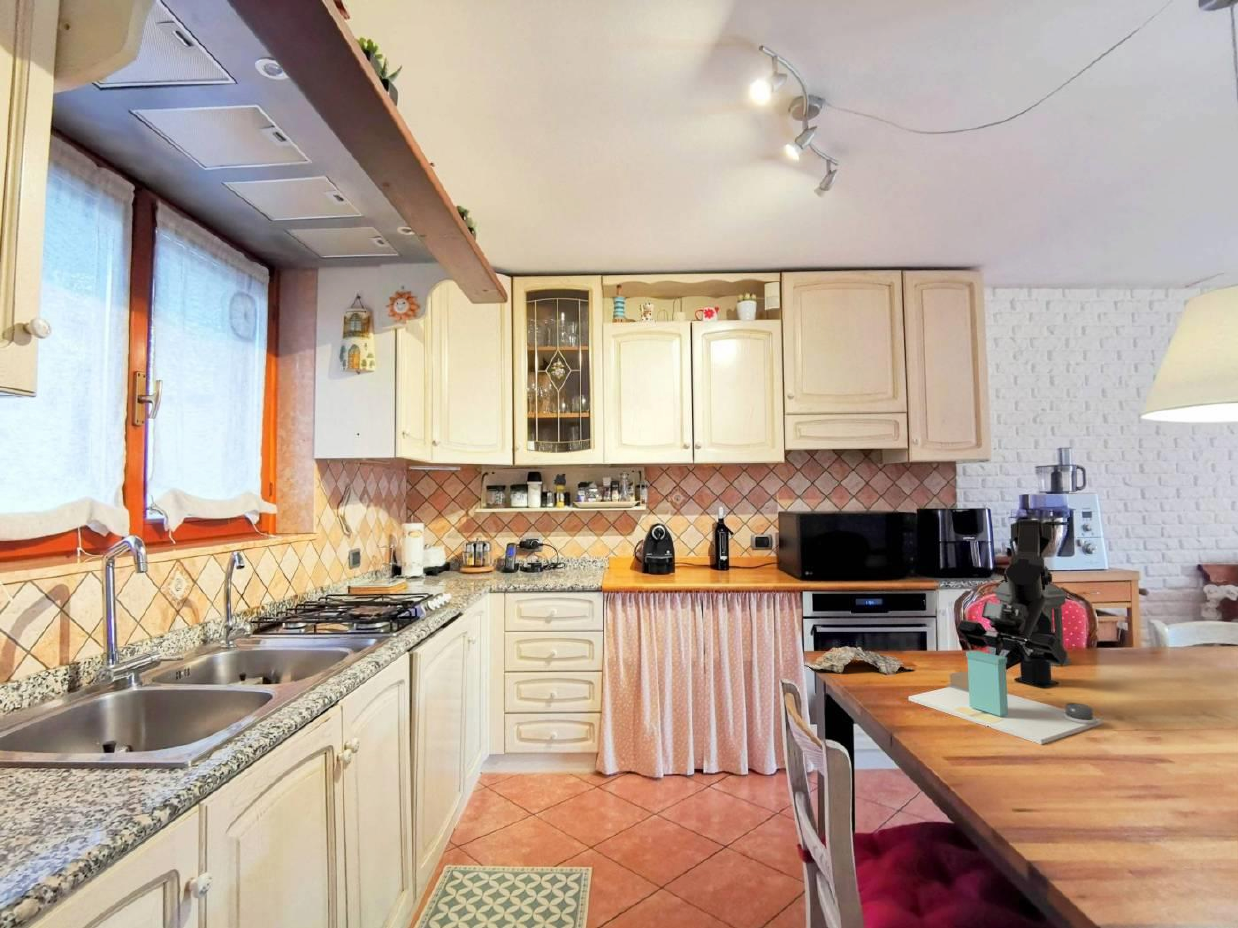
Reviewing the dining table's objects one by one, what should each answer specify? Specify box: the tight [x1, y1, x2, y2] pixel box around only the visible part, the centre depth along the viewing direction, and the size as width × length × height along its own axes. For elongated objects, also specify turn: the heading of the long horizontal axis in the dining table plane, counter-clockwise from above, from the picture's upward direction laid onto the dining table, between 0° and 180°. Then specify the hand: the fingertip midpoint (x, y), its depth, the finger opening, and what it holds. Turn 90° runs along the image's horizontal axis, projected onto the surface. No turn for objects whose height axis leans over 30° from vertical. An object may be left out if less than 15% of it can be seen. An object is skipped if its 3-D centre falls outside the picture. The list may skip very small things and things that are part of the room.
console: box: [908, 671, 1103, 745], centre depth 120 cm, size 20×27×4 cm
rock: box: [803, 646, 914, 676], centre depth 152 cm, size 27×15×5 cm, turn 92°
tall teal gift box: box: [965, 650, 1008, 716], centre depth 117 cm, size 3×6×11 cm, turn 27°
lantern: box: [992, 538, 1071, 667], centre depth 160 cm, size 17×17×35 cm
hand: (992, 674), depth 118 cm, fingers closed, pressing on tall teal gift box
